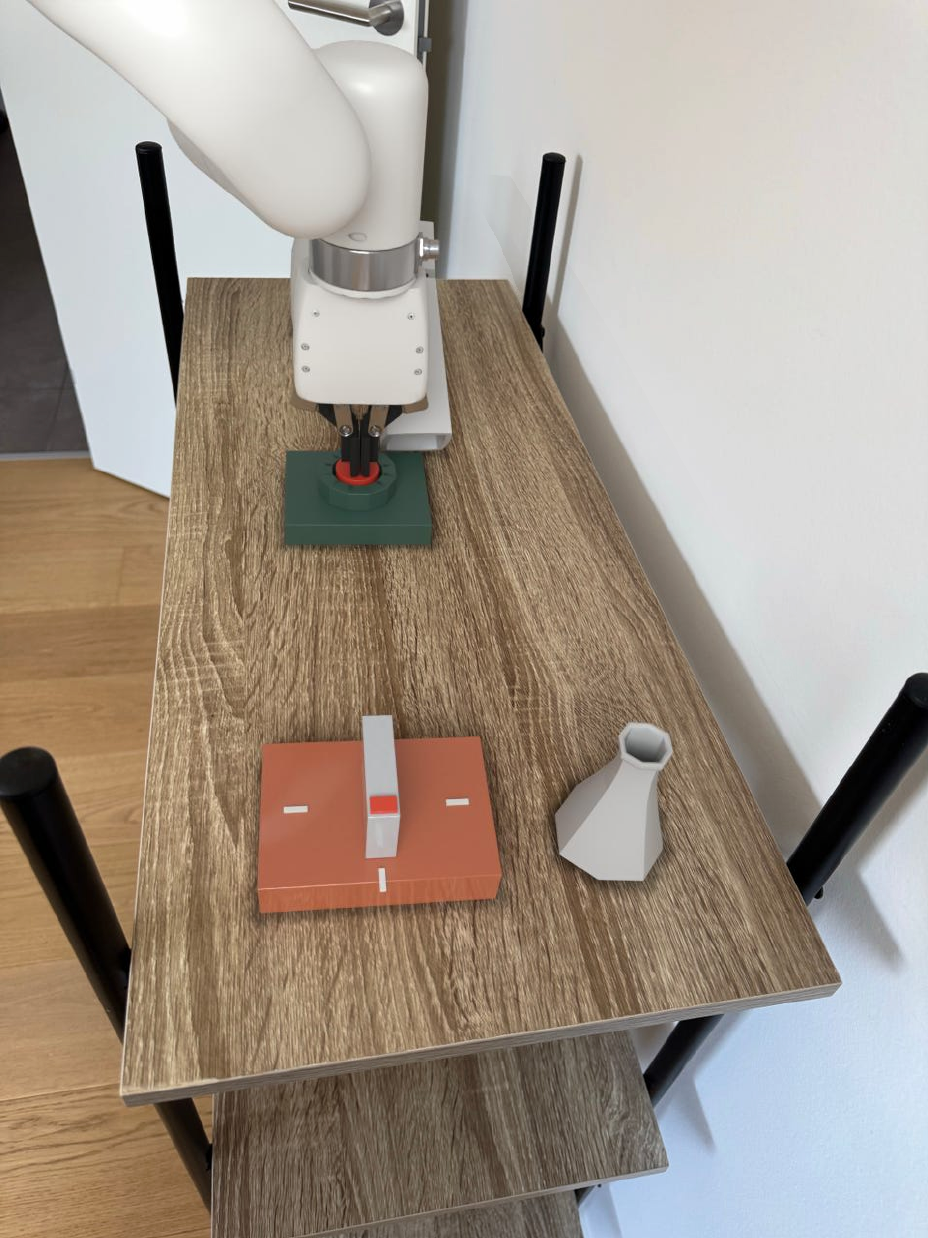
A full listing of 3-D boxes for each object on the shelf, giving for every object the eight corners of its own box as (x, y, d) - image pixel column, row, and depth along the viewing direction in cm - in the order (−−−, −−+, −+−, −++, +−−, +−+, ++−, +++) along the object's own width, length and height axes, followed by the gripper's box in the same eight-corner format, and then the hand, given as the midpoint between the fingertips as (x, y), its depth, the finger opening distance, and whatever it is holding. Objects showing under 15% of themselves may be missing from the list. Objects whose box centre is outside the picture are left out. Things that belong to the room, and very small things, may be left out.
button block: (285, 545, 75) (283, 507, 72) (287, 470, 82) (285, 433, 79) (430, 545, 77) (434, 508, 74) (420, 471, 84) (423, 435, 81)
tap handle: (360, 758, 58) (362, 713, 54) (388, 757, 58) (392, 712, 54) (365, 859, 53) (367, 815, 49) (396, 857, 53) (400, 814, 50)
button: (336, 497, 76) (336, 480, 75) (335, 470, 78) (335, 453, 77) (379, 497, 76) (380, 480, 75) (377, 470, 79) (377, 454, 78)
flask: (669, 805, 61) (714, 714, 54) (654, 900, 56) (701, 814, 49) (565, 773, 62) (596, 680, 55) (541, 864, 57) (571, 774, 50)
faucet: (384, 433, 79) (369, 210, 80) (368, 476, 95) (356, 289, 96) (455, 432, 80) (440, 212, 81) (427, 475, 96) (415, 290, 97)
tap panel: (259, 923, 53) (256, 898, 50) (265, 762, 60) (262, 734, 58) (497, 908, 55) (504, 883, 53) (473, 754, 62) (479, 726, 60)
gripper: (463, 234, 67) (442, 441, 80) (255, 224, 64) (269, 438, 78) (476, 283, 62) (452, 495, 75) (250, 274, 59) (266, 495, 73)
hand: (359, 466), depth 76 cm, fingers closed
